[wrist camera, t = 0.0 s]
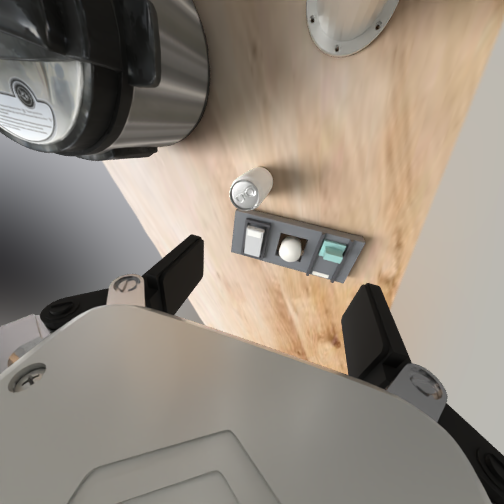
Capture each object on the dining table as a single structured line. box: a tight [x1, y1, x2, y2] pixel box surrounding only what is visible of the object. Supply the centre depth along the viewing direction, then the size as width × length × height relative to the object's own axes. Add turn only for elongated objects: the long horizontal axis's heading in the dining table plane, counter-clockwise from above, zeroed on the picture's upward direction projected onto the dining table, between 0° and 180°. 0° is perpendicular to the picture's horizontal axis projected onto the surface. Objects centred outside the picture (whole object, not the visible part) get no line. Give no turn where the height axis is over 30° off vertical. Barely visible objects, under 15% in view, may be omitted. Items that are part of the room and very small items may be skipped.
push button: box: [279, 236, 302, 262], centre depth 48 cm, size 5×5×4 cm
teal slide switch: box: [318, 239, 346, 264], centre depth 44 cm, size 4×5×4 cm
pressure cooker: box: [0, 0, 210, 161], centre depth 27 cm, size 30×28×32 cm
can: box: [230, 167, 273, 211], centre depth 40 cm, size 6×6×12 cm
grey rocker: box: [244, 225, 264, 257], centre depth 48 cm, size 8×4×1 cm, turn 171°
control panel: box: [231, 209, 365, 283], centre depth 49 cm, size 12×30×4 cm, turn 81°
